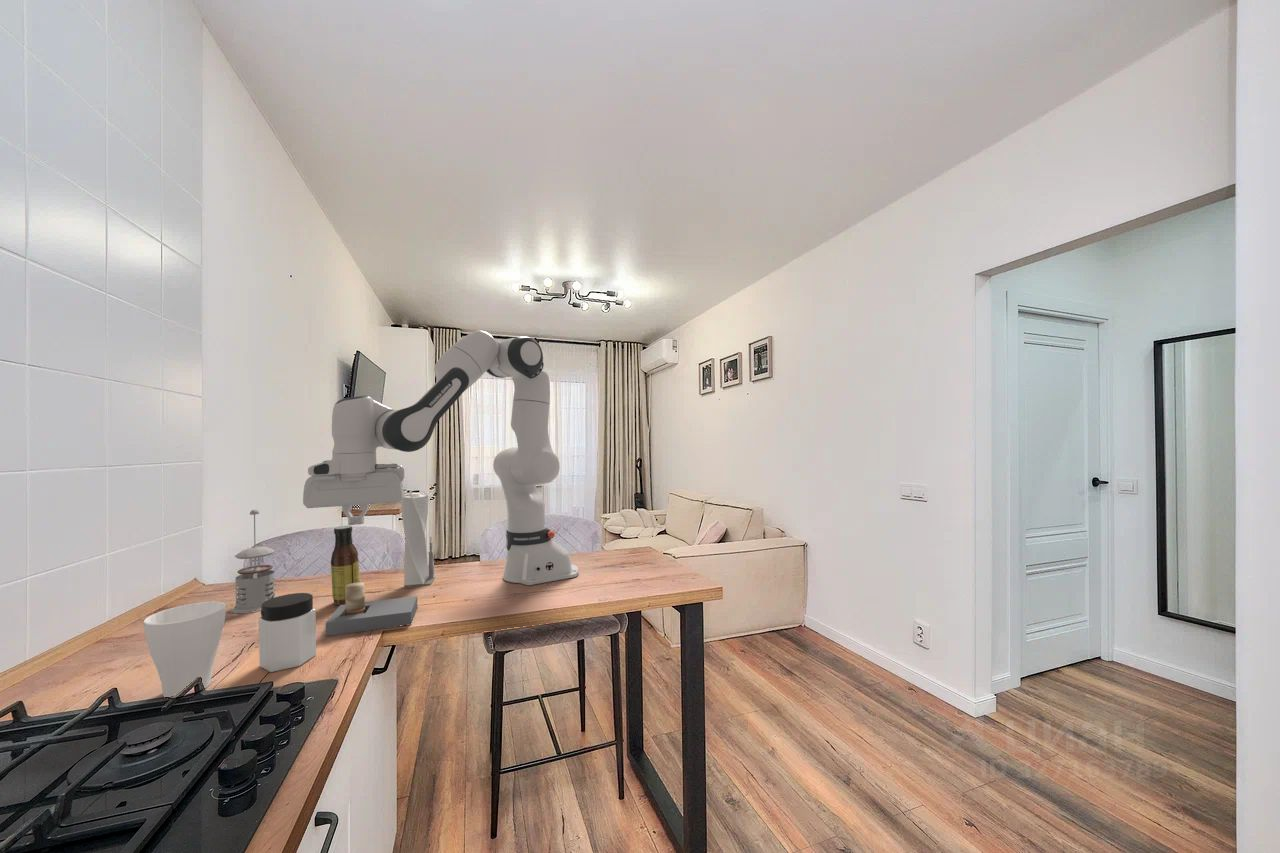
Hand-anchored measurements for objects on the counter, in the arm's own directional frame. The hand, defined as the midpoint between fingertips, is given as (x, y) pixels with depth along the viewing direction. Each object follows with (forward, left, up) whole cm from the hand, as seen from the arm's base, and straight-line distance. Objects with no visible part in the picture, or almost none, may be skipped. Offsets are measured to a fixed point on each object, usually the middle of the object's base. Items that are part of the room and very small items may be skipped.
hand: (356, 524), depth 111 cm
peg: (0, 0, -23) cm, 23 cm away
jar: (+8, +16, -23) cm, 30 cm away
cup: (+21, +22, -23) cm, 39 cm away
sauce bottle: (+6, -17, -23) cm, 29 cm away
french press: (+28, -23, -23) cm, 43 cm away
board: (-4, 0, -23) cm, 23 cm away
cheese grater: (-10, -27, -23) cm, 37 cm away
